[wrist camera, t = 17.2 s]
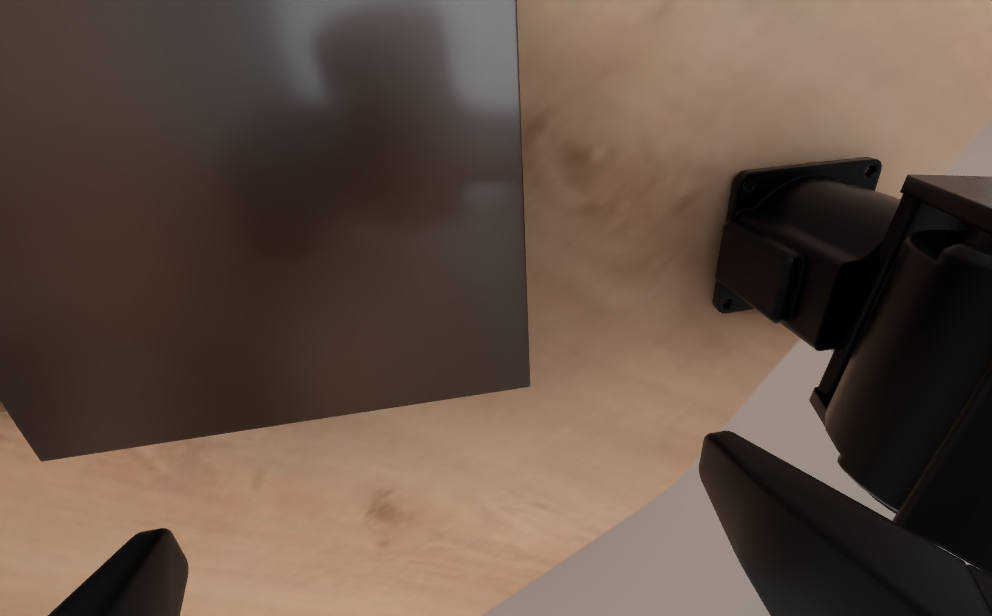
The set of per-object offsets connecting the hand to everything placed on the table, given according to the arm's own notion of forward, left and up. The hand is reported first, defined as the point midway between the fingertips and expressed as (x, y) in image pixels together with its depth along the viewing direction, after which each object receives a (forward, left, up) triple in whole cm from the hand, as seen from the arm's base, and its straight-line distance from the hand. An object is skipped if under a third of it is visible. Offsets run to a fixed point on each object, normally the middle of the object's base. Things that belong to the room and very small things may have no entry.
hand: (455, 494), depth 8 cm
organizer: (+4, -3, -13) cm, 14 cm away
